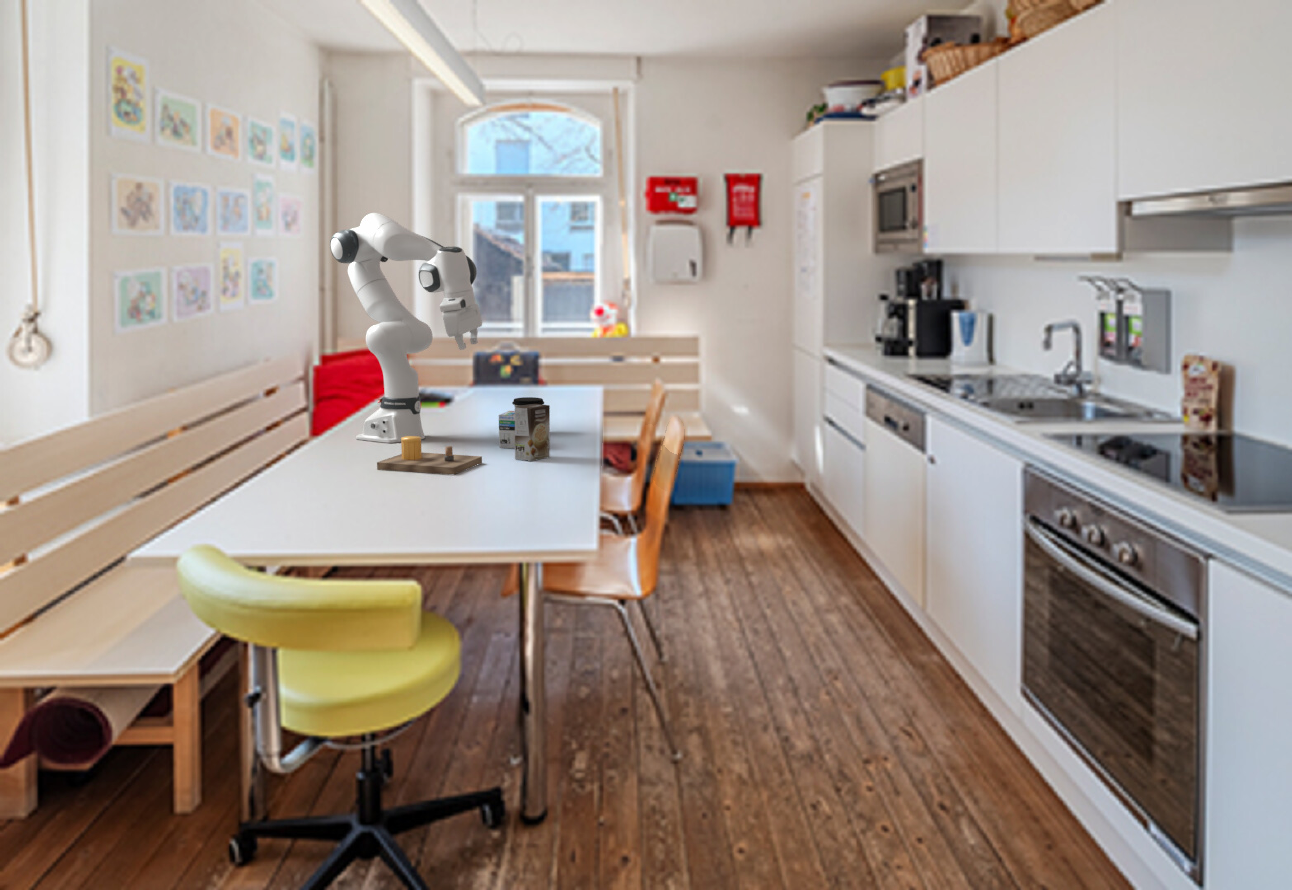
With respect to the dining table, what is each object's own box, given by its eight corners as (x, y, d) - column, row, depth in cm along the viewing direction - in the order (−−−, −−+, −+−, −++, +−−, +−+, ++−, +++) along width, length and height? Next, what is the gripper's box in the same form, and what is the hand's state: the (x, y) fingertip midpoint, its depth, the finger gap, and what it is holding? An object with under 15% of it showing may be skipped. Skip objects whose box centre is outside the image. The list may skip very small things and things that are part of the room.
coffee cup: (507, 435, 351) (507, 400, 349) (520, 430, 361) (520, 396, 359) (537, 436, 348) (536, 401, 346) (549, 432, 358) (549, 397, 356)
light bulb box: (518, 449, 325) (518, 415, 323) (498, 448, 326) (497, 414, 324) (529, 443, 335) (528, 410, 333) (509, 442, 336) (508, 410, 334)
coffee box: (530, 461, 304) (530, 408, 301) (514, 459, 308) (513, 406, 305) (550, 457, 311) (550, 404, 309) (534, 454, 315) (533, 403, 312)
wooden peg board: (377, 469, 291) (376, 448, 290) (409, 458, 308) (408, 438, 307) (453, 474, 284) (453, 453, 283) (482, 463, 301) (481, 443, 300)
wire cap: (398, 459, 295) (397, 438, 294) (407, 455, 301) (407, 435, 300) (415, 460, 294) (414, 439, 293) (425, 456, 299) (424, 436, 298)
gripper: (463, 298, 318) (471, 342, 321) (436, 306, 298) (445, 353, 302) (482, 295, 316) (490, 339, 319) (456, 304, 297) (465, 351, 300)
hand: (468, 346), depth 310 cm, fingers open, 8 cm apart
